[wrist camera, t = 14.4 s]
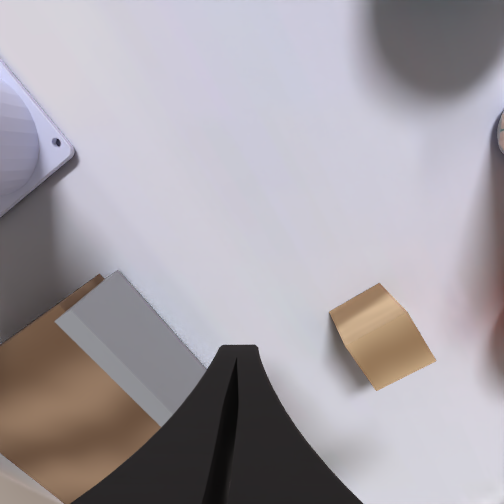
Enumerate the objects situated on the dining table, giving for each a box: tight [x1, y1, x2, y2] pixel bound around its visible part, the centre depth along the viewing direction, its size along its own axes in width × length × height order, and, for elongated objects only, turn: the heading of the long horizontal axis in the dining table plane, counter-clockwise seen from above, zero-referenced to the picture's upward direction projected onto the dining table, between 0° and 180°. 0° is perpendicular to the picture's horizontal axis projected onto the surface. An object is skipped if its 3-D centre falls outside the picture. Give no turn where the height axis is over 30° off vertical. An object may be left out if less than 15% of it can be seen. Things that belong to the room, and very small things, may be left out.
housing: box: [0, 274, 161, 504], centre depth 22 cm, size 15×11×4 cm
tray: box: [54, 270, 206, 427], centre depth 21 cm, size 14×12×6 cm
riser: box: [329, 283, 436, 391], centre depth 20 cm, size 4×4×4 cm
